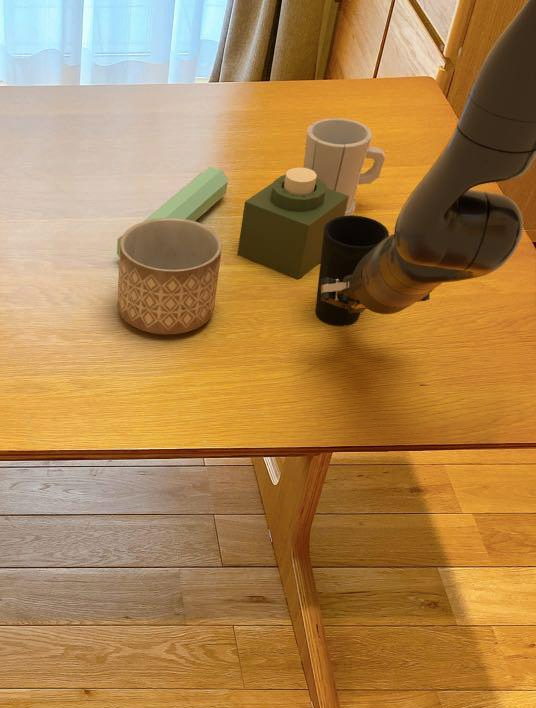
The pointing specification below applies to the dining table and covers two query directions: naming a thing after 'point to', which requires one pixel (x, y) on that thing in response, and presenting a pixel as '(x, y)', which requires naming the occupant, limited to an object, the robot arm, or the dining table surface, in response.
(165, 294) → the planter
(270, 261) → the green push button box
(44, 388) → the dining table surface
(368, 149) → the cup
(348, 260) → the cup
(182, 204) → the pale green long bar
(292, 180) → the cream push button
